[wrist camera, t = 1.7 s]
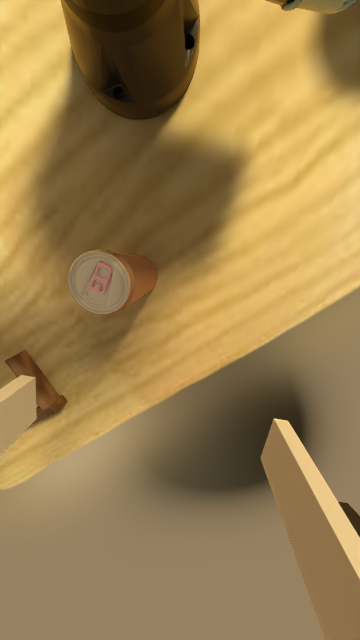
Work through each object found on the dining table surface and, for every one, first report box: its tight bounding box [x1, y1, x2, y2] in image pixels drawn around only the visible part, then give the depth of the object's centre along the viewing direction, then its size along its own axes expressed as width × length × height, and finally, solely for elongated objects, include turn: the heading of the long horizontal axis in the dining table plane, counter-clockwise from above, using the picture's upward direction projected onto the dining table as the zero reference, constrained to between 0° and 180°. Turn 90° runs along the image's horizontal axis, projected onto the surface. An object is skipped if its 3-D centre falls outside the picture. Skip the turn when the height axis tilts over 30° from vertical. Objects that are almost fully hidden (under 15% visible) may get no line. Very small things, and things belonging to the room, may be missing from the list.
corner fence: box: [5, 350, 67, 424], centre depth 38 cm, size 12×14×3 cm
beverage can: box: [68, 249, 157, 314], centre depth 26 cm, size 6×6×15 cm
